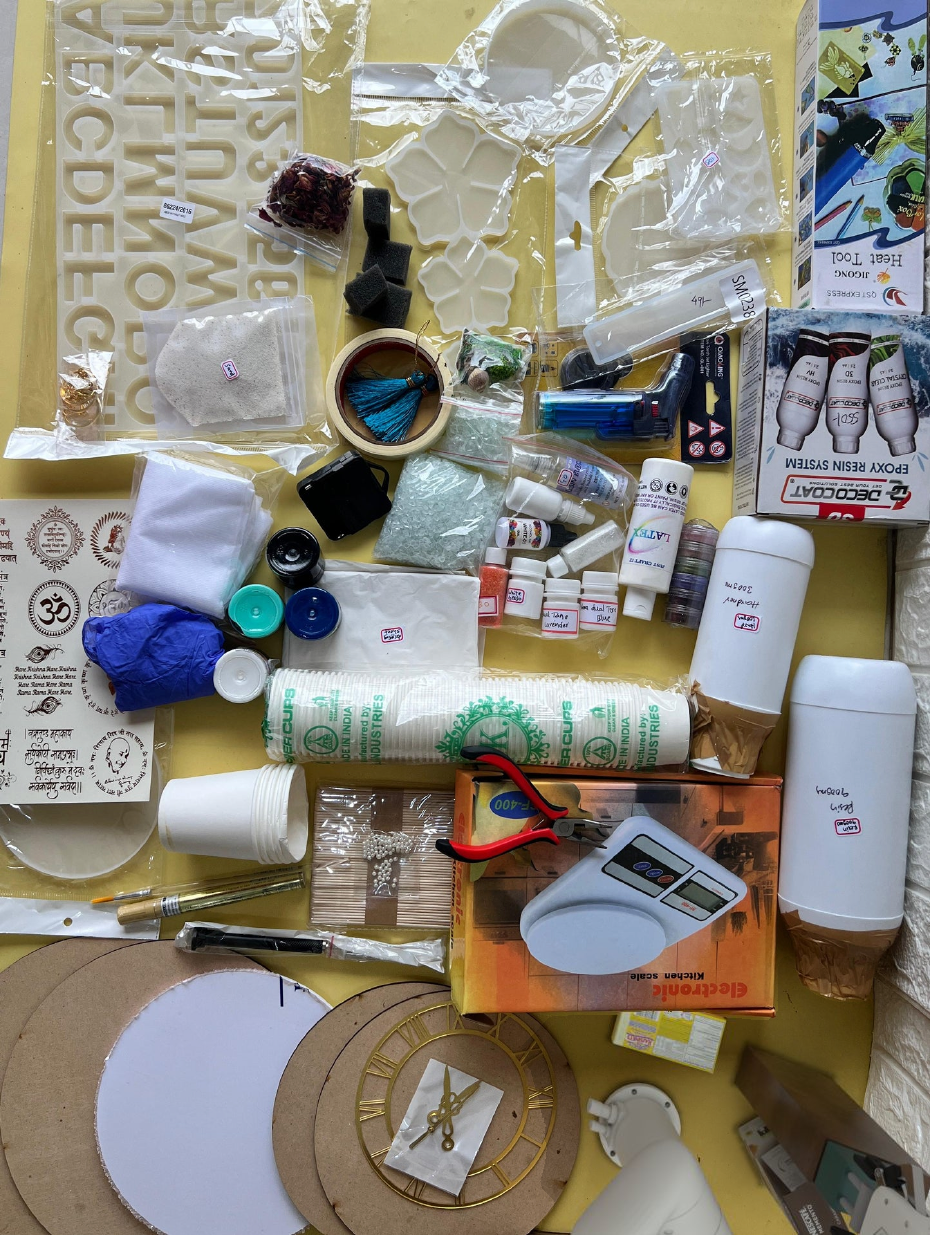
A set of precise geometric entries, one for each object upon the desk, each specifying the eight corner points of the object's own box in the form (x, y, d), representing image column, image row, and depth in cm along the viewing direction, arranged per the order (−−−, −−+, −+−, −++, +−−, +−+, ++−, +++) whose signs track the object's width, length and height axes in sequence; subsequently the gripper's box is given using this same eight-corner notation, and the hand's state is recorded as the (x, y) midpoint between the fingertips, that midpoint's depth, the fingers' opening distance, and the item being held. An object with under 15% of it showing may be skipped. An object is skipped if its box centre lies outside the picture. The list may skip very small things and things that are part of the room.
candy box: (708, 1068, 123) (723, 1016, 123) (713, 1075, 121) (728, 1022, 121) (609, 1037, 123) (625, 985, 123) (612, 1044, 121) (628, 991, 121)
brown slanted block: (733, 1082, 123) (811, 1185, 97) (746, 1045, 123) (826, 1137, 98) (820, 1116, 123) (919, 1227, 98) (832, 1078, 123) (934, 1179, 98)
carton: (813, 1184, 97) (850, 1234, 89) (827, 1140, 98) (866, 1184, 89) (880, 1210, 97) (924, 1262, 89) (894, 1166, 98) (940, 1213, 89)
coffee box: (735, 1128, 122) (780, 1194, 106) (771, 1108, 122) (821, 1171, 106) (762, 1183, 121) (812, 1259, 105) (798, 1163, 122) (853, 1235, 106)
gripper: (943, 1209, 75) (846, 1110, 93) (886, 1395, 74) (799, 1258, 91) (1015, 1237, 75) (905, 1133, 93) (960, 1424, 74) (859, 1282, 91)
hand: (853, 1196), depth 92 cm, fingers open, 7 cm apart
